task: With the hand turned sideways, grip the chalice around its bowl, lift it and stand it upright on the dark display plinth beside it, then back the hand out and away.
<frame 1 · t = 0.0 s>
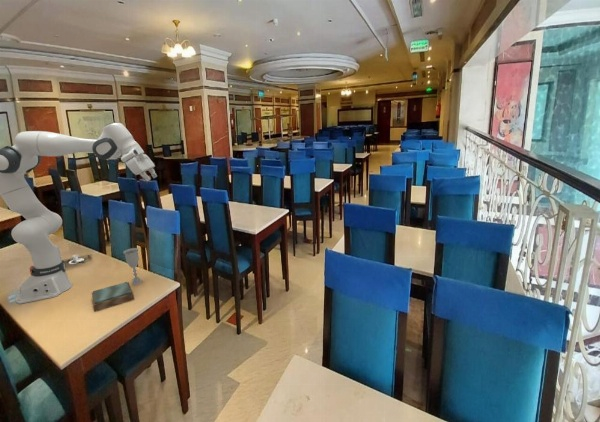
hand: (152, 178, 154), 54 cm above the table, tool tilted 30°, fingers open, 8 cm apart
plinth: (113, 299, 152), on the table
teacup and saucer: (73, 264, 194), on the table
chalice: (137, 282, 167), on the table
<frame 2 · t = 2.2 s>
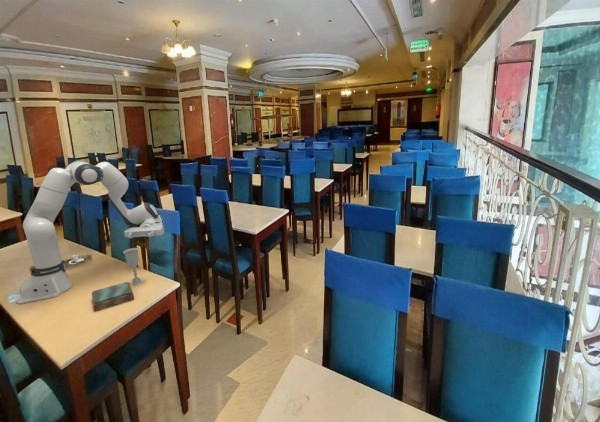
hand: (139, 236, 173), 21 cm above the table, tool horizontal, fingers open, 8 cm apart
nothing on the table moved.
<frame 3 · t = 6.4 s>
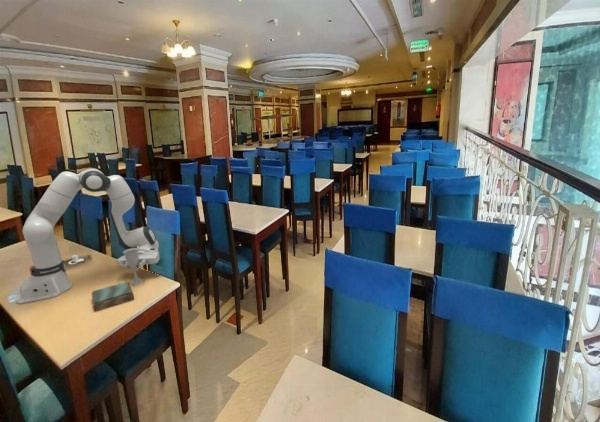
hand: (132, 265, 164), 10 cm above the table, tool horizontal, fingers closed on chalice, 5 cm apart
chalice: (137, 282, 167), on the table, touching gripper
everything else where it was.
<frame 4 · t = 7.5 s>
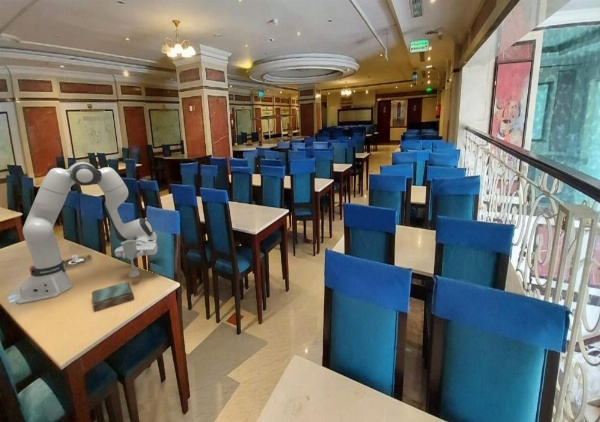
hand: (130, 256, 162), 15 cm above the table, tool horizontal, fingers closed on chalice, 5 cm apart
chalice: (134, 274, 166), point 5 cm above the table, touching gripper
everything else where it was.
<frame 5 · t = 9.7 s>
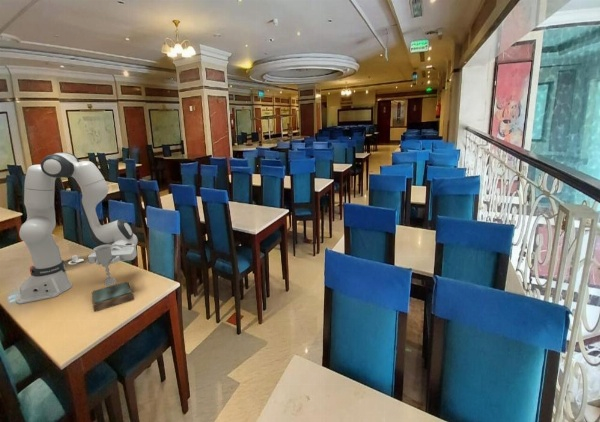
hand: (104, 262, 146), 19 cm above the table, tool horizontal, fingers closed on chalice, 5 cm apart
chalice: (110, 283, 150), point 8 cm above the table, touching gripper
everything else where it was.
when the fingers open (15 cm above the table, at t = 11.0 s): chalice moves 1 cm, resting on plinth.
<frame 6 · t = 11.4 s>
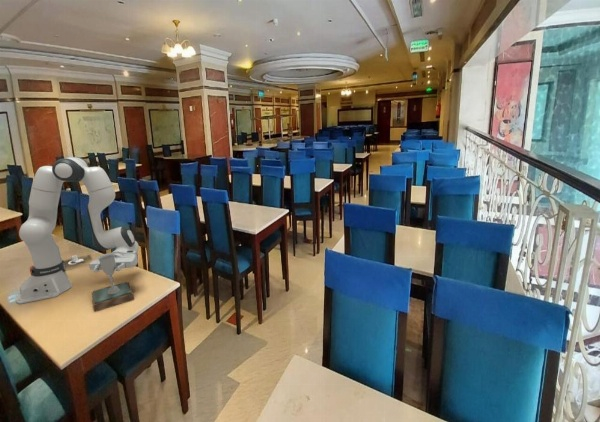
hand: (106, 270, 147), 15 cm above the table, tool horizontal, fingers open, 8 cm apart
chalice: (114, 291, 151), point 4 cm above the table, touching plinth
everything else where it was.
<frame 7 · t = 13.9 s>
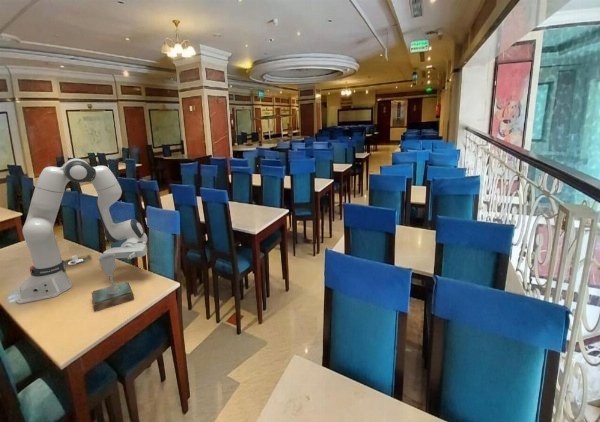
hand: (118, 258, 159), 16 cm above the table, tool horizontal, fingers open, 8 cm apart
nothing on the table moved.
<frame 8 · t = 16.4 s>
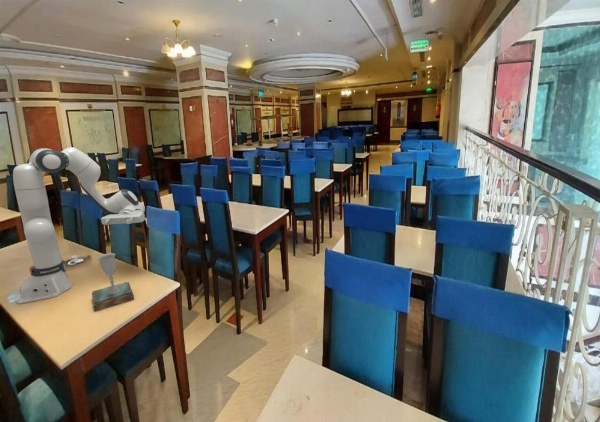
hand: (116, 223, 162), 32 cm above the table, tool horizontal, fingers open, 8 cm apart
at the end: chalice inside the target area on the plinth (1.0 cm from its centre), point 3.8 cm above the plinth's base; chalice tilted 0°; the gripper is holding nothing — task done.
